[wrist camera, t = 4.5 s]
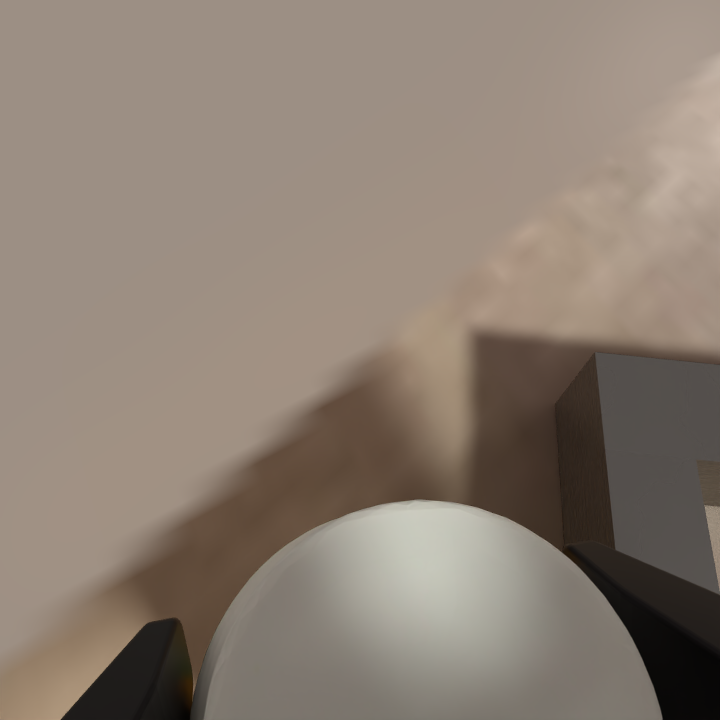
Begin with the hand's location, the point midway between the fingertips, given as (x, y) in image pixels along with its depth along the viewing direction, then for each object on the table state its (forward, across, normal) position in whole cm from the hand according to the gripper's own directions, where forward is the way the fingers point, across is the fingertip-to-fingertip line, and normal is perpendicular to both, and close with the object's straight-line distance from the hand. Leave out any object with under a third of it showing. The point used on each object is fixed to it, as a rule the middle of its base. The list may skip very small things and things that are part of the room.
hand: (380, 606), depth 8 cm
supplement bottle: (+4, 0, +6) cm, 7 cm away
